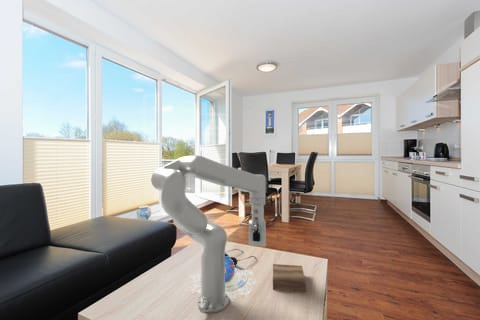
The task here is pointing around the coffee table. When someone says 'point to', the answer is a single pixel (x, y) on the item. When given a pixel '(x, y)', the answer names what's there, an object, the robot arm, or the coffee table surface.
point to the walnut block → (288, 278)
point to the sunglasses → (235, 258)
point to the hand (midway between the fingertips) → (257, 238)
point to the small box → (262, 235)
